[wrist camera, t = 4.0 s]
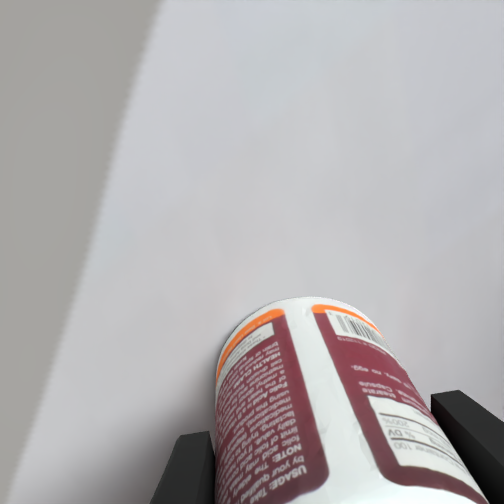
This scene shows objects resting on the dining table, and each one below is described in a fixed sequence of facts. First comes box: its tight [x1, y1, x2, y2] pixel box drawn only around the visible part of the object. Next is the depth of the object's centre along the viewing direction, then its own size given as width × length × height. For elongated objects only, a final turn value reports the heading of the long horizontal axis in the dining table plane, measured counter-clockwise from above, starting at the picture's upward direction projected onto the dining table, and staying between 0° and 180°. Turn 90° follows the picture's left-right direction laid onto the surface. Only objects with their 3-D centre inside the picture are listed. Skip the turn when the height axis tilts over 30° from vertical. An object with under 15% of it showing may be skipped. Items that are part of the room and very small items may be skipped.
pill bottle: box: [215, 297, 489, 504], centre depth 9 cm, size 5×5×8 cm
